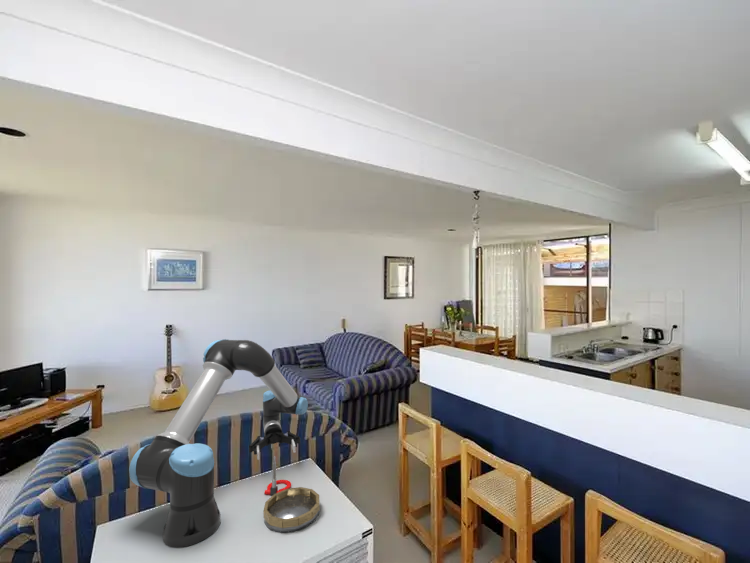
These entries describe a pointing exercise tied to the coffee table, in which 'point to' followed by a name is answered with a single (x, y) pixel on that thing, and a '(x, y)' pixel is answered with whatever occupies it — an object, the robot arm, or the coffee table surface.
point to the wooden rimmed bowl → (291, 509)
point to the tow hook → (276, 482)
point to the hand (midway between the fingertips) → (276, 452)
